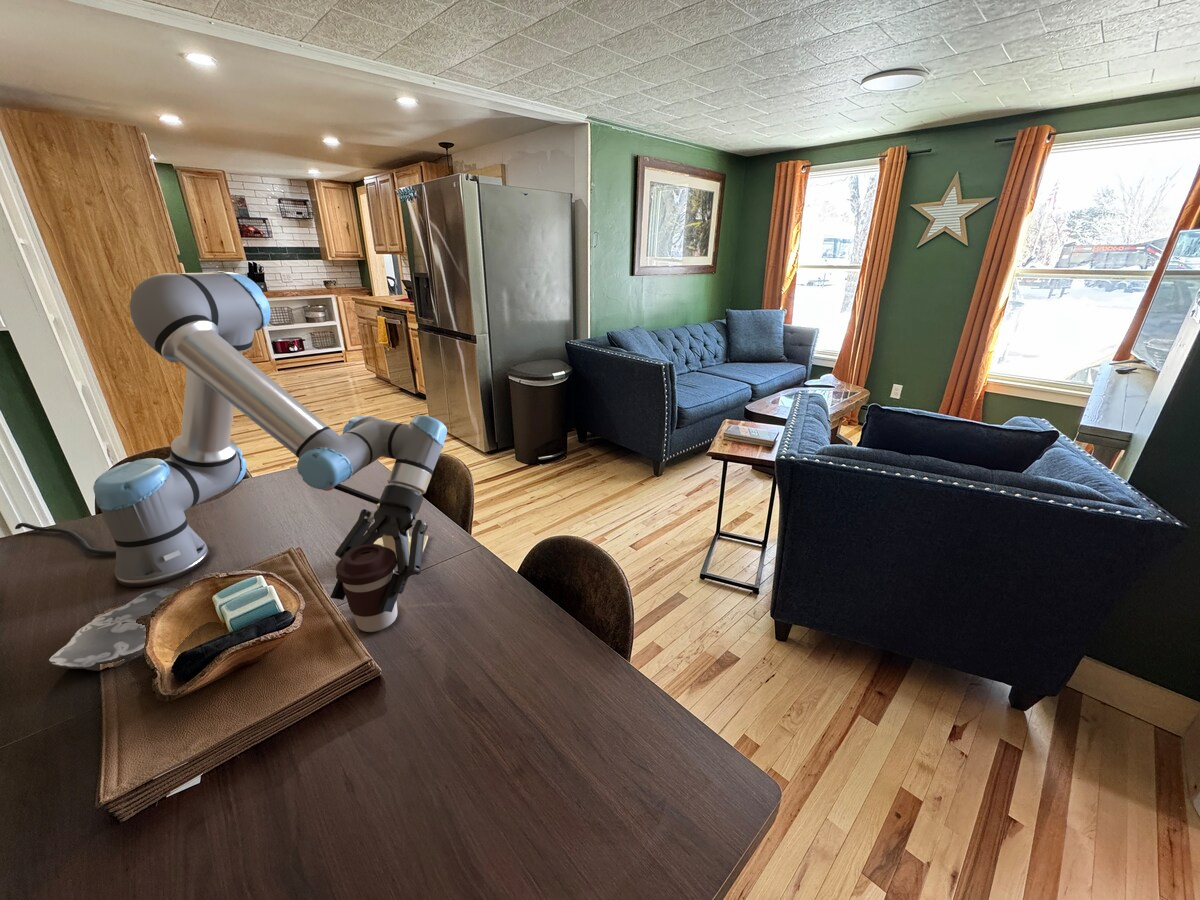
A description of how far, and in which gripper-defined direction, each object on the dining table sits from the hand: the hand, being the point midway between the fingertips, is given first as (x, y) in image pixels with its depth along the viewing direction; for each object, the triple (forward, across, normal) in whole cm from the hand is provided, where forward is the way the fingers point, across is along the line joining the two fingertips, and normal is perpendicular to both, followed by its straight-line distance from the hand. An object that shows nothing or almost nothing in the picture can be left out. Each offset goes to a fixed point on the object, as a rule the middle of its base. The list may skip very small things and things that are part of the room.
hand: (360, 604), depth 86 cm
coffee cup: (+2, 0, -6) cm, 7 cm away
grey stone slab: (+14, +37, +5) cm, 40 cm away
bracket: (-12, +11, -21) cm, 26 cm away
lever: (-20, +17, -9) cm, 28 cm away
